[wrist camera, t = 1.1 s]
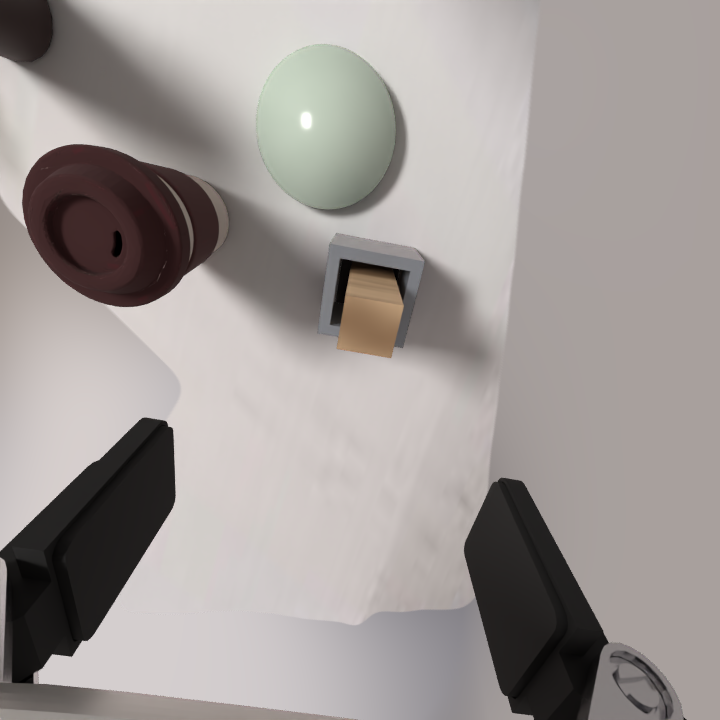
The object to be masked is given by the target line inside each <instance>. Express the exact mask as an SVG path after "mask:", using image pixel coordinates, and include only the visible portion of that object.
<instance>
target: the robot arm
mask: <svg viewBox="0 0 720 720" xmlns="http://www.w3.org/2000/svg"><path fill="white" fill-rule="evenodd" d="M175 496H176V495H175V466H174V438H173V429H172V428H171V427H168V424H167V422H166V421H163V420H157V419H151V418H142V419H141V420H139V421H138V422H137V423H136V424H135V425H134V426H133V427H132V428H131V429H130V430H129V431H128V432H127V433H126V434H125V435H124V436H123V437H122V438H121V439H120V440H119V441H118V442H117V443H116V444H115V445H114V446H113V447H112V448H111V449H110V450H109V451H108V452H107V453H106V454H105V455H104V456H103V457H102V458H101V459H100V460H99V461H96V462H94V463H92V464H91V465H89V466H88V467H87V468H86V469H85V470H84V471H83V472H82V473H81V474H80V475H79V476H78V477H77V478H75V479H74V480H73V481H72V482H71V483H70V484H69V485H68V486H67V487H66V488H65V489H64V490H63V491H62V492H61V493H60V494H59V495H58V496H57V497H56V498H55V499H54V500H53V501H52V502H51V503H50V504H49V505H48V506H47V507H46V508H45V509H44V510H43V511H41V512H40V513H39V515H37V516H36V517H35V518H34V519H33V520H32V521H31V522H30V523H29V524H28V525H27V526H26V527H25V528H24V529H23V530H22V531H21V532H20V533H19V534H18V535H17V536H16V537H15V538H14V539H13V540H12V541H11V542H9V543H8V544H7V545H6V546H5V547H4V548H3V549H2V550H1V551H0V720H356V719H348V718H340V717H332V716H323V715H315V714H308V713H298V712H291V711H283V710H274V709H266V708H258V707H250V706H242V705H234V704H224V703H216V702H208V701H199V700H190V699H182V698H174V697H165V696H157V695H148V694H140V693H130V692H122V691H111V690H101V689H91V688H79V687H70V686H69V687H68V686H59V685H49V684H39V679H38V678H39V677H38V671H39V670H40V669H42V668H43V666H44V665H45V664H46V662H47V661H48V659H49V658H50V656H51V655H52V654H55V655H63V656H71V657H72V656H73V654H74V653H75V651H76V649H77V648H78V646H79V645H80V643H81V642H82V641H87V640H89V639H90V638H91V637H92V636H93V635H94V633H95V632H96V630H97V628H98V627H99V625H100V624H101V622H102V621H103V619H104V617H105V616H106V614H107V612H108V611H109V609H110V608H111V606H112V605H113V603H114V601H115V600H116V598H117V597H118V595H119V593H120V592H121V590H122V589H123V587H124V585H125V584H126V582H127V581H128V579H129V577H130V576H131V574H132V573H133V571H134V569H135V568H136V566H137V564H138V563H139V561H140V560H141V558H142V556H143V555H144V553H145V552H146V550H147V548H148V547H149V545H150V544H151V542H152V540H153V539H154V537H155V536H156V534H157V532H158V531H159V529H160V528H161V526H162V524H163V523H164V521H165V520H166V518H167V516H168V515H169V513H170V512H171V510H172V508H173V506H174V502H175ZM464 554H465V558H466V562H467V566H468V570H469V574H470V577H471V581H472V585H473V589H474V592H475V596H476V600H477V604H478V607H479V611H480V614H481V618H482V622H483V626H484V630H485V634H486V637H487V641H488V645H489V648H490V653H491V656H492V660H493V664H494V667H495V671H496V675H497V679H498V683H499V686H500V689H501V691H502V693H503V694H504V695H505V696H508V699H509V703H510V707H511V710H512V713H517V714H525V715H533V717H534V720H686V719H685V718H684V717H683V712H682V707H681V703H680V701H679V699H678V696H677V694H676V692H675V690H674V689H673V687H672V686H671V684H670V683H669V681H668V680H667V678H666V677H665V676H664V675H663V673H662V672H661V671H660V670H659V669H658V668H657V667H656V666H655V664H653V663H652V662H651V661H650V660H649V659H648V658H646V657H645V656H644V655H643V654H641V653H640V652H638V651H637V650H635V649H633V648H632V647H630V646H627V645H624V644H622V643H609V642H608V641H607V639H606V637H605V635H604V633H603V630H602V628H601V626H600V624H599V622H598V620H597V619H596V617H595V615H594V613H593V611H592V609H591V607H590V605H589V604H588V602H587V600H586V598H585V596H584V595H583V593H582V591H581V589H580V587H579V585H578V583H577V581H576V579H575V578H574V576H573V574H572V572H571V570H570V568H569V566H568V564H567V563H566V561H565V559H564V557H563V555H562V553H561V551H560V550H559V548H558V546H557V544H556V542H555V540H554V538H553V537H552V535H551V533H550V531H549V529H548V527H547V525H546V523H545V522H544V520H543V518H542V516H541V514H540V512H539V510H538V509H537V507H536V505H535V503H534V501H533V499H532V498H531V496H530V494H529V492H528V490H527V488H526V486H525V485H524V483H523V482H522V481H519V480H512V479H507V478H500V479H499V480H498V482H494V483H493V484H492V485H491V487H490V490H489V492H488V494H487V496H486V498H485V500H484V503H483V505H482V507H481V509H480V511H479V513H478V516H477V518H476V520H475V522H474V524H473V526H472V529H471V531H470V533H469V535H468V537H467V539H466V542H465V546H464Z"/></svg>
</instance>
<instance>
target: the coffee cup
mask: <svg viewBox="0 0 720 720" xmlns="http://www.w3.org/2000/svg"><path fill="white" fill-rule="evenodd" d="M22 205H23V213H24V220H25V223H26V226H27V229H28V233H29V235H30V238H31V240H32V242H33V243H34V245H35V247H36V249H37V251H38V252H39V254H40V255H41V257H42V258H43V260H44V261H45V262H46V263H47V265H48V266H49V267H50V269H51V270H52V271H53V272H54V273H55V274H56V275H57V276H58V277H59V278H60V279H61V280H62V281H64V282H65V283H66V284H67V285H69V286H70V287H72V288H73V289H75V290H76V291H78V292H79V293H81V294H82V295H85V296H86V297H88V298H90V299H93V300H95V301H98V302H101V303H104V304H107V305H113V306H119V307H136V306H141V305H145V304H148V303H150V302H153V301H155V300H157V299H159V298H160V297H162V296H164V295H166V294H167V293H169V292H170V291H171V290H172V289H174V288H175V287H176V286H177V284H178V283H179V282H180V280H181V279H182V277H183V276H184V275H186V274H187V273H188V272H190V271H191V270H193V269H194V268H196V267H197V266H198V265H200V264H201V263H203V262H204V261H205V260H206V259H207V258H208V257H209V256H210V255H211V254H212V253H213V252H214V251H216V250H217V249H218V248H219V247H220V246H221V245H222V244H223V243H224V241H225V239H226V237H227V234H228V229H229V217H228V212H227V209H226V206H225V204H224V202H223V200H222V198H221V197H220V195H219V194H218V193H217V192H216V191H215V190H214V188H212V187H211V186H210V185H209V184H208V183H206V182H205V181H203V180H201V179H199V178H197V177H194V176H190V175H185V174H184V173H181V172H179V171H177V170H174V169H170V168H166V167H162V166H157V165H153V164H149V163H144V162H140V161H138V160H136V159H134V158H133V157H131V156H129V155H127V154H124V153H122V152H119V151H117V150H113V149H110V148H105V147H99V146H92V145H82V144H73V145H66V146H62V147H59V148H56V149H54V150H51V151H49V152H48V153H46V154H45V155H43V156H42V157H41V158H39V159H38V161H37V162H36V163H35V164H34V166H33V167H32V168H31V170H30V172H29V174H28V176H27V178H26V181H25V185H24V189H23V200H22Z"/></svg>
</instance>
